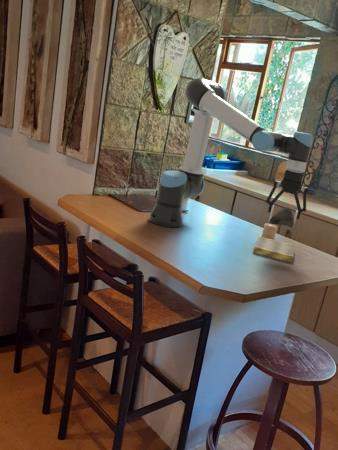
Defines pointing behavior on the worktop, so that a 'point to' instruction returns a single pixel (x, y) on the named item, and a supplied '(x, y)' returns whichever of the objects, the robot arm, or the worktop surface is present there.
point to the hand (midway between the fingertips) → (281, 223)
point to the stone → (283, 218)
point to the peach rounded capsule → (269, 231)
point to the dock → (274, 249)
